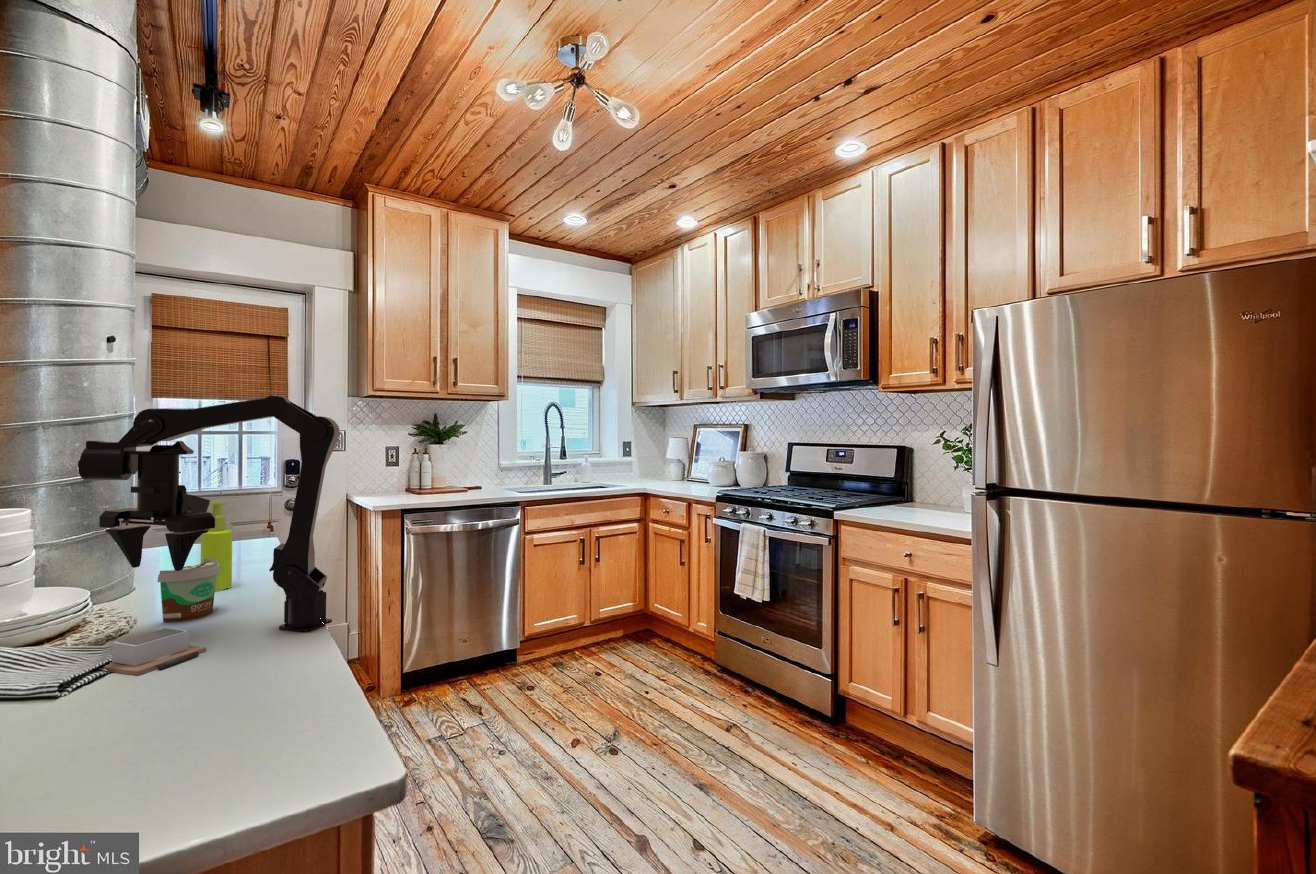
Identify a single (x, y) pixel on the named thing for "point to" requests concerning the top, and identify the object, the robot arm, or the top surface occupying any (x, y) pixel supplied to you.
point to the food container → (188, 591)
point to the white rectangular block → (149, 646)
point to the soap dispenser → (219, 547)
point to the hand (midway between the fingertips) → (157, 568)
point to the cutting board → (156, 662)
